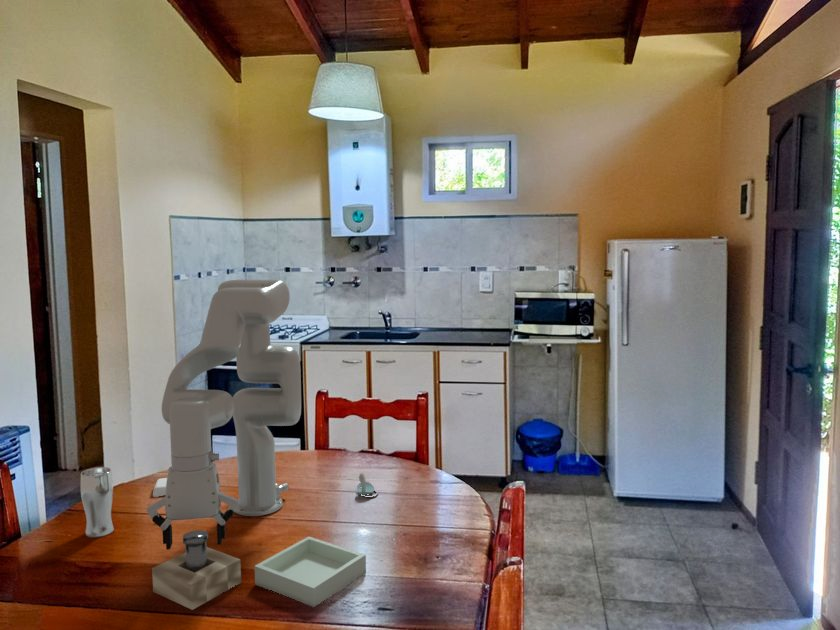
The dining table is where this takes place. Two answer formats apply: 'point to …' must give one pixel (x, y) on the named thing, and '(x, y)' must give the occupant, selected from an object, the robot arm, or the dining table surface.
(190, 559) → the steel pin
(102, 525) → the beer glass
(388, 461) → the dining table surface
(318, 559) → the tray
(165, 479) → the soap
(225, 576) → the pin block
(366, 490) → the pacifier
